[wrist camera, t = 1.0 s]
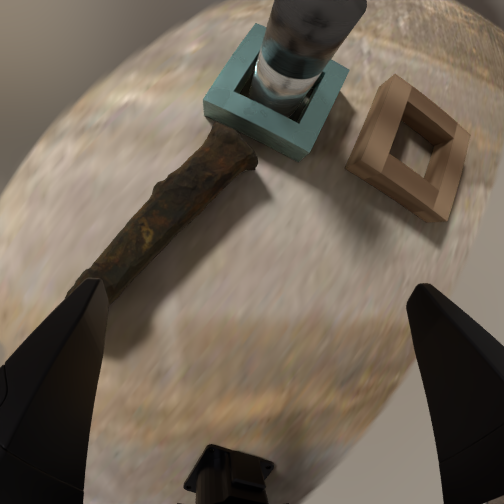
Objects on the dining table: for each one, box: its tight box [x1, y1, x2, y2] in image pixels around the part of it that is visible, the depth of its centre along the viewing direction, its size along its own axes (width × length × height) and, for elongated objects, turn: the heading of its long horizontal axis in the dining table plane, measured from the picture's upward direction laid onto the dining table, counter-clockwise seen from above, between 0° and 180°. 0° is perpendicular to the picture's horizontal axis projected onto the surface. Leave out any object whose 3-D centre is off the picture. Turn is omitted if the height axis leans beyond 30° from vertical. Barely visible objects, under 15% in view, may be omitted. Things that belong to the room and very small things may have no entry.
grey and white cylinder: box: [249, 0, 367, 117], centre depth 17 cm, size 4×4×13 cm
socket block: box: [203, 23, 349, 162], centre depth 21 cm, size 8×8×3 cm
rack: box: [345, 74, 470, 222], centre depth 23 cm, size 9×9×3 cm
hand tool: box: [65, 122, 258, 305], centre depth 20 cm, size 19×4×5 cm, turn 133°
